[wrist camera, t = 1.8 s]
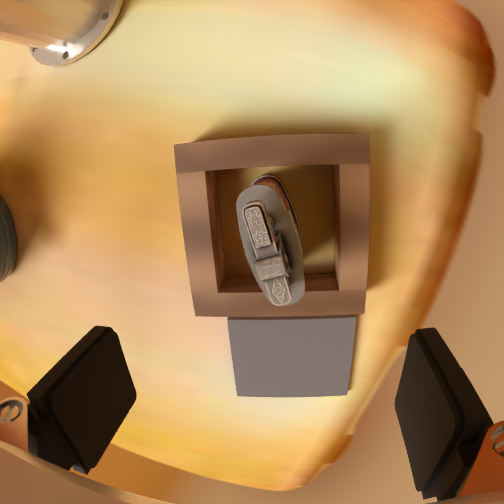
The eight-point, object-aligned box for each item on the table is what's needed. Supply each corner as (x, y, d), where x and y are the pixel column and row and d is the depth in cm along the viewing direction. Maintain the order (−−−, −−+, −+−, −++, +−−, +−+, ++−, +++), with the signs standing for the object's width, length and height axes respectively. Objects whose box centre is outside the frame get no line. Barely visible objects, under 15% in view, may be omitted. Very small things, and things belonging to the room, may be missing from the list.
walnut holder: (188, 144, 25) (173, 144, 22) (358, 135, 24) (368, 133, 20) (205, 297, 30) (195, 316, 26) (356, 294, 28) (364, 313, 25)
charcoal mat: (228, 316, 30) (227, 319, 30) (355, 314, 28) (356, 317, 28) (238, 392, 33) (237, 396, 33) (346, 391, 32) (347, 395, 31)
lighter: (309, 260, 27) (316, 319, 18) (271, 269, 28) (260, 331, 19) (282, 169, 25) (277, 182, 16) (243, 181, 26) (215, 201, 17)
